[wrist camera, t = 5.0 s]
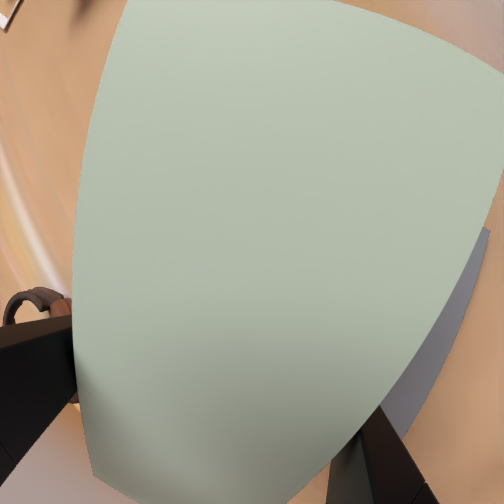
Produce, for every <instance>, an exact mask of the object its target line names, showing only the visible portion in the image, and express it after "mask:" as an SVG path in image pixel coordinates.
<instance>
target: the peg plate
mask: <svg viewBox="0 0 504 504" xmlns="http://www.w3.org/2000/svg"><path fill="white" fill-rule="evenodd" d="M489 233H490V230H488V229H486V228H485V227H482V229H481V232H480V234H479V237H478V239H477V241H476V243H475V246H474V248H473V250H472V252H471V255H470V257H469V259H468V261H467V263H466V265H465V267H464V269H463V271H462V274H461V276H460V278H459V280H458V281H457V283H456V285H455V287H454V289H453V291H452V293H451V295H450V297H449V299H448V300H447V302H446V304H445V306H444V308H443V309H442V311H441V313H440V315H439V316H438V318H437V320H436V322H435V323H434V325H433V327H432V328H431V330H430V332H429V333H428V335H427V337H426V338H425V340H424V341H423V343H422V345H421V346H420V348H419V349H418V351H417V352H416V354H415V355H414V357H413V358H412V360H411V361H410V363H409V364H408V366H407V367H406V369H405V370H404V372H403V373H402V374H401V376H400V377H399V379H398V380H397V381H396V383H395V384H394V386H393V387H392V388H391V390H390V391H389V392H388V394H387V395H386V396H385V398H384V399H383V400H382V402H381V403H380V404H379V405H380V406H381V408H382V409H383V411H384V413H385V414H386V416H387V418H388V419H389V421H390V422H391V424H392V426H393V427H394V429H395V431H396V432H397V434H398V436H399V437H400V439H401V440H402V439H403V437H404V435H405V434H406V432H407V431H408V429H409V427H410V426H411V424H412V422H413V421H414V419H415V417H416V416H417V414H418V412H419V410H420V409H421V407H422V405H423V403H424V401H425V400H426V398H427V396H428V394H429V392H430V390H431V388H432V386H433V384H434V382H435V380H436V378H437V376H438V374H439V372H440V370H441V368H442V366H443V364H444V362H445V360H446V358H447V355H448V353H449V351H450V349H451V346H452V344H453V342H454V339H455V337H456V335H457V332H458V330H459V327H460V325H461V322H462V320H463V317H464V314H465V312H466V309H467V306H468V303H469V301H470V298H471V295H472V292H473V289H474V286H475V283H476V280H477V277H478V273H479V270H480V267H481V263H482V260H483V256H484V252H485V249H486V245H487V241H488V237H489Z"/></svg>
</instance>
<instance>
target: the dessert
mask: <svg viewBox="0 0 504 504" xmlns="http://www.w3.org/2000/svg"><path fill="white" fill-rule="evenodd" d="M20 1H21V0H18V1H17V3H16V5H15V7H14V9H13V11H12V12H11V14H10V16H9V18H8V19H7V18H6V17H5V16H4V15H2V14H1V13H0V28H2V29H3V30H4V29H5V28H6V26H7V25H8V23H9V21H10V19H11V17H12V15H13V14H14V12H15V10H16V8H17V6H18V4H19V3H20Z"/></svg>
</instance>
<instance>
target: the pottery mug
mask: <svg viewBox="0 0 504 504" xmlns="http://www.w3.org/2000/svg"><path fill="white" fill-rule="evenodd" d="M24 300H29V301H31V302H32V303H33V304H34V305H35V306H36V307H37V308H38V310H39V312H44V311H47V310H49V314H50V316H51V318H52V317H58V316H63V315H69V314H72V300H70V299H69V298H68V299H64V297H63V295H62V294H60V293H58V292H56V291H53V290H51V289H48V288H44V287H35V288H33V289H32V290H31V289H29V290H27V291H23V292H18V293H17V294H15V295H14V296H13V297H12V298H11V299H10V300H9V302H8V304H7V306H6V309H5V312H4V317H3V326H7V325H12V324H16V323H15V318H14V316H15V313H16V311H17V309H18V308H19V307H20V306H21V305H22V302H23V301H24ZM68 403H72V404H74V403H79V397H78V392H77V393H76V394H75V395H74V396H73V397H72V399H71V400H70V401H69V402H68Z"/></svg>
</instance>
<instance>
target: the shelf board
mask: <svg viewBox="0 0 504 504" xmlns="http://www.w3.org/2000/svg"><path fill="white" fill-rule="evenodd" d="M503 168H504V74H502V73H501V72H499V71H498V70H496V69H495V68H493V67H491V66H490V65H488V64H486V63H485V62H483V61H481V60H479V59H478V58H476V57H474V56H472V55H471V54H469V53H467V52H465V51H463V50H461V49H459V48H458V47H456V46H454V45H452V44H450V43H448V42H446V41H444V40H441V39H439V38H437V37H435V36H433V35H431V34H428V33H426V32H424V31H422V30H419V29H417V28H415V27H412V26H410V25H407V24H405V23H402V22H399V21H397V20H394V19H391V18H389V17H386V16H383V15H380V14H377V13H374V12H371V11H368V10H365V9H362V8H358V7H355V6H352V5H348V4H344V3H341V2H337V1H333V0H128V1H127V3H126V6H125V8H124V11H123V13H122V16H121V19H120V21H119V24H118V27H117V29H116V32H115V35H114V38H113V41H112V44H111V47H110V50H109V53H108V56H107V59H106V63H105V66H104V69H103V73H102V76H101V80H100V83H99V87H98V91H97V95H96V99H95V103H94V107H93V111H92V115H91V120H90V124H89V129H88V134H87V139H86V144H85V150H84V155H83V161H82V168H81V174H80V181H79V188H78V196H77V205H76V215H75V226H74V239H73V257H72V330H73V347H74V361H75V372H76V381H77V390H78V397H79V404H80V411H81V417H82V424H83V428H84V435H85V440H86V444H87V450H88V454H89V459H90V463H91V468H92V471H93V475H94V476H95V477H97V478H98V479H100V480H101V481H103V482H104V483H106V484H108V485H109V486H110V487H112V488H114V489H115V490H117V491H119V492H120V493H122V494H124V495H125V496H127V497H129V498H130V499H132V500H134V501H136V502H138V503H139V504H286V503H287V502H288V501H289V500H291V499H292V498H293V497H294V496H295V495H296V494H297V493H298V492H299V491H300V490H302V489H303V488H304V487H305V486H306V485H307V484H308V483H309V482H310V481H311V480H312V479H313V478H314V477H315V476H316V475H317V474H318V473H319V472H320V471H321V470H322V469H323V468H324V467H325V466H326V465H327V464H328V463H329V462H330V461H331V460H332V459H333V458H334V457H335V456H336V455H337V453H338V452H339V451H340V450H341V449H342V448H343V447H344V446H345V445H346V444H347V442H348V441H349V440H350V439H351V438H352V437H353V436H354V435H355V433H356V432H357V431H358V430H359V429H360V428H361V426H362V425H363V424H364V423H365V422H366V420H367V419H368V418H369V417H370V415H371V414H372V413H373V412H374V410H375V409H376V408H377V407H378V405H379V404H380V403H381V402H382V400H383V399H384V398H385V396H386V395H387V394H388V392H389V391H390V390H391V388H392V387H393V386H394V384H395V383H396V381H397V380H398V379H399V377H400V376H401V374H402V373H403V372H404V370H405V369H406V367H407V366H408V364H409V363H410V361H411V360H412V358H413V357H414V355H415V354H416V352H417V351H418V349H419V348H420V346H421V345H422V343H423V341H424V340H425V338H426V337H427V335H428V333H429V332H430V330H431V328H432V327H433V325H434V323H435V322H436V320H437V318H438V316H439V315H440V313H441V311H442V309H443V308H444V306H445V304H446V302H447V300H448V299H449V297H450V295H451V293H452V291H453V289H454V287H455V285H456V283H457V281H458V280H459V278H460V276H461V274H462V271H463V269H464V267H465V265H466V263H467V261H468V259H469V257H470V255H471V252H472V250H473V248H474V246H475V243H476V241H477V239H478V237H479V234H480V232H481V229H482V227H483V225H484V222H485V220H486V217H487V214H488V212H489V209H490V206H491V204H492V201H493V198H494V195H495V193H496V190H497V187H498V184H499V181H500V178H501V175H502V171H503Z"/></svg>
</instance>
